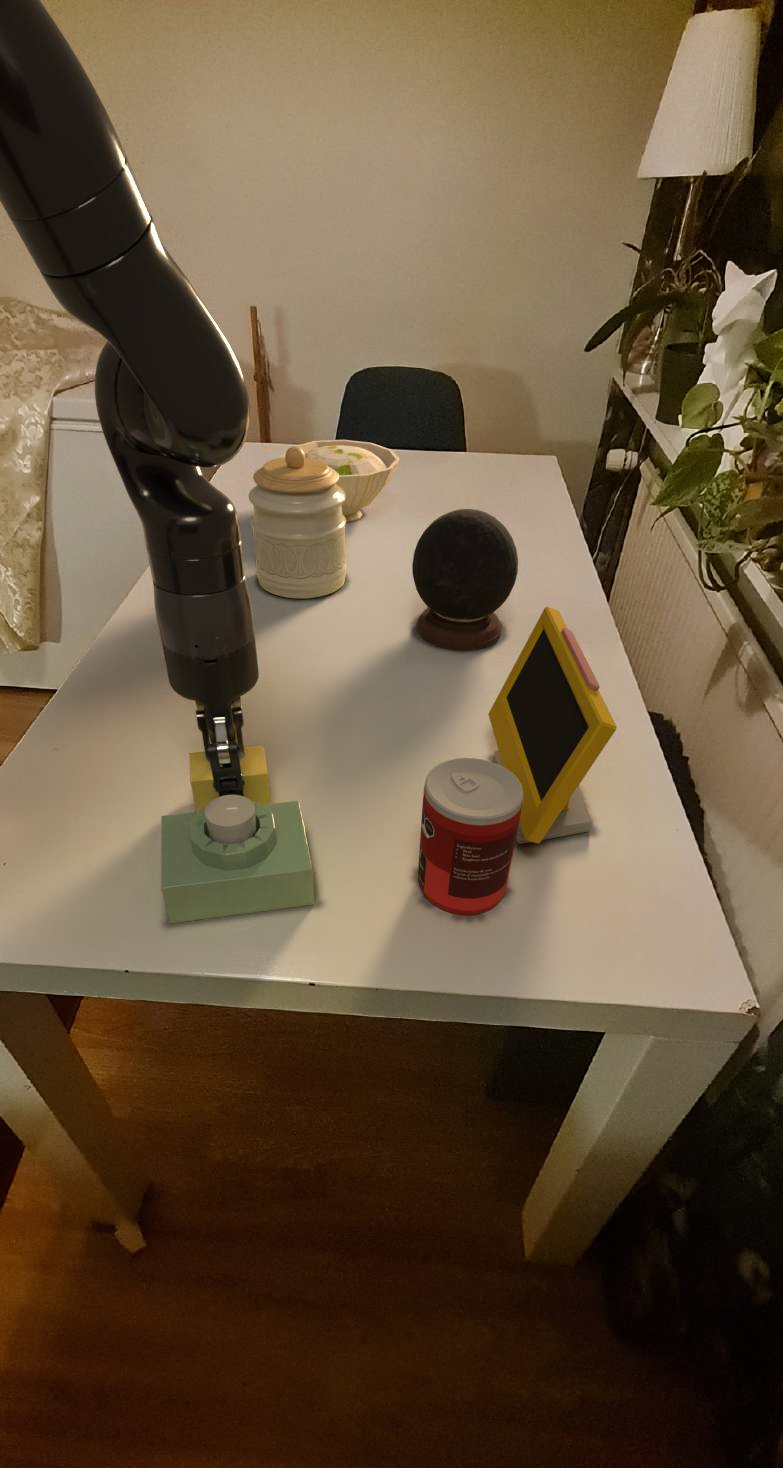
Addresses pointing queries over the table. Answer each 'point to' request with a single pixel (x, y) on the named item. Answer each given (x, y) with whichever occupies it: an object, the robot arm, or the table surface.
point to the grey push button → (230, 819)
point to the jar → (298, 527)
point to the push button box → (235, 865)
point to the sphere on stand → (463, 579)
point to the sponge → (253, 778)
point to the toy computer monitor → (550, 730)
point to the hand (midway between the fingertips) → (232, 794)
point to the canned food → (468, 834)
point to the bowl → (355, 469)
